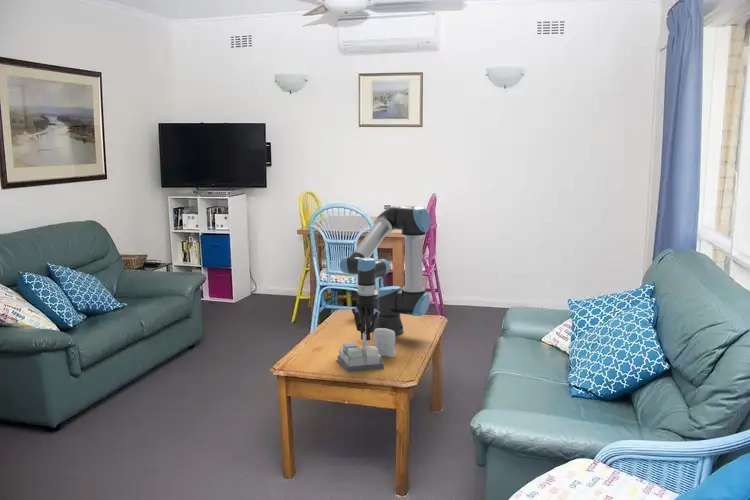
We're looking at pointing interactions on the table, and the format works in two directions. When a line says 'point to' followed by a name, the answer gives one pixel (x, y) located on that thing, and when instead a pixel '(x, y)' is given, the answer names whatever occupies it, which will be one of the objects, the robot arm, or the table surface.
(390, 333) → the photo printer
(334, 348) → the table surface
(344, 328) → the table surface
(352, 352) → the key sage
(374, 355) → the key ivory
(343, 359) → the keypad base
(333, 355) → the table surface
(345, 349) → the key slate
